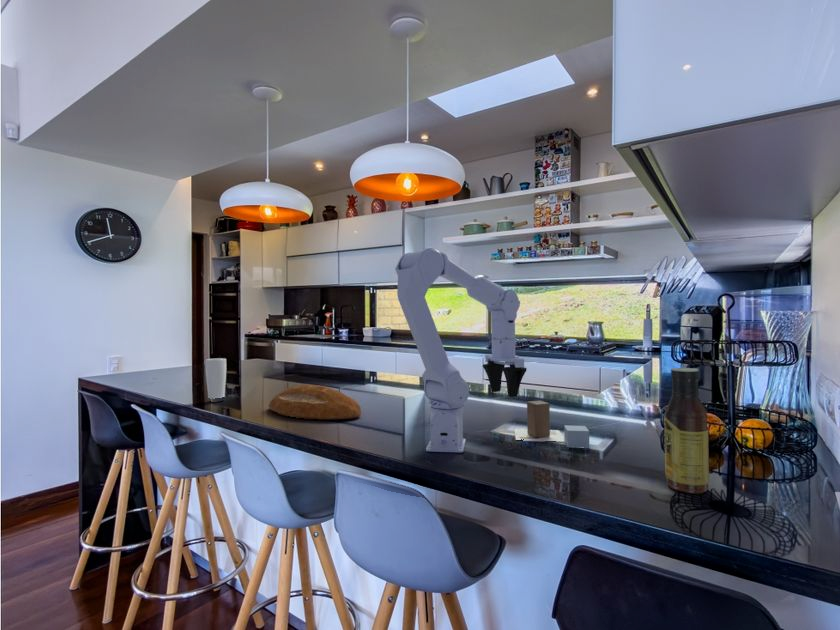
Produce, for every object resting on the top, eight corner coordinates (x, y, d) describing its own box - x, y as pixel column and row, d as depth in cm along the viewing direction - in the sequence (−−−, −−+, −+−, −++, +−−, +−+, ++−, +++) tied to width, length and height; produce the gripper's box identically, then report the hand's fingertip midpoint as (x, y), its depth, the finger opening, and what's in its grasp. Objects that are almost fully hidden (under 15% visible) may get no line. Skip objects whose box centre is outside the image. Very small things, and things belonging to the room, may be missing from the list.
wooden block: (526, 434, 109) (526, 401, 109) (541, 432, 110) (540, 400, 110) (536, 438, 105) (535, 404, 105) (550, 436, 106) (550, 403, 106)
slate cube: (589, 449, 97) (589, 431, 97) (567, 448, 98) (567, 430, 98) (585, 443, 101) (585, 425, 101) (564, 442, 102) (564, 425, 102)
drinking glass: (207, 400, 161) (206, 358, 161) (228, 399, 163) (227, 357, 163) (204, 404, 154) (203, 360, 154) (225, 402, 156) (225, 359, 156)
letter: (565, 442, 102) (565, 441, 102) (516, 440, 104) (516, 440, 104) (559, 430, 112) (559, 430, 112) (514, 429, 114) (514, 429, 114)
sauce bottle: (669, 478, 79) (667, 365, 79) (711, 486, 75) (709, 367, 75) (661, 490, 74) (659, 369, 74) (706, 499, 70) (704, 372, 70)
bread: (335, 427, 120) (335, 394, 120) (251, 413, 139) (251, 385, 139) (376, 415, 135) (376, 385, 135) (295, 403, 154) (294, 377, 154)
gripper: (534, 339, 105) (535, 397, 105) (501, 337, 119) (502, 388, 119) (509, 340, 103) (510, 400, 103) (477, 337, 116) (478, 390, 116)
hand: (504, 394), depth 111 cm, fingers open, 7 cm apart
